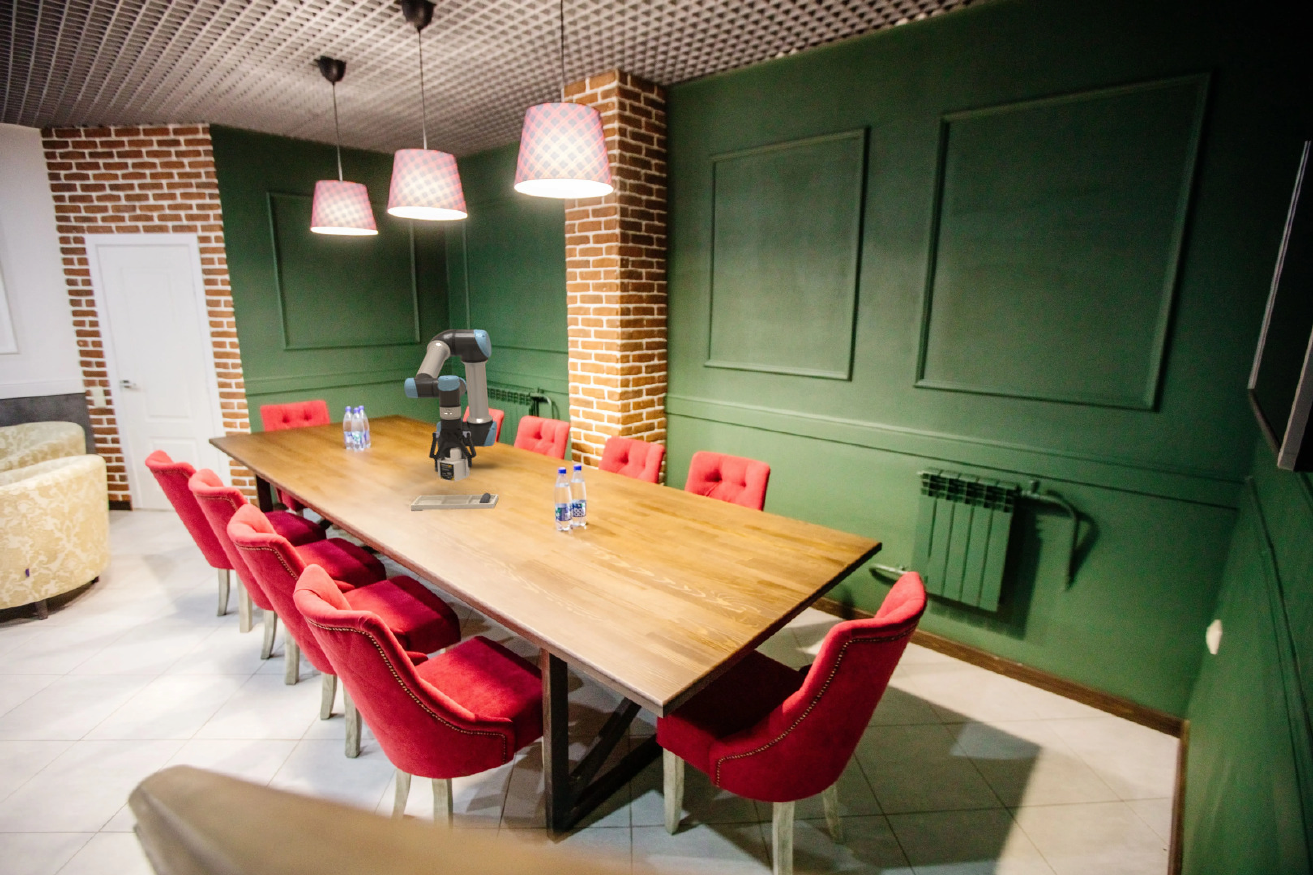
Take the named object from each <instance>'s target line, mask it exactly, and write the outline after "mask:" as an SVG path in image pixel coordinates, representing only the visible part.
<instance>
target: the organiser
mask: <svg viewBox="0 0 1313 875" xmlns="http://www.w3.org/2000/svg"><path fill="white" fill-rule="evenodd" d="M483 495H484V494H447V495H446V494H445V495H443V494H441V495H438V494H437V495H434V494H433V495H432V494H431V495H430V494H429V495H417V498H416V499H414V500H413V501H412V503H411V504H410V511H412V512H417V511H418V512H419V511H420V512H422V511H423V510H461V509H463V510H467V509H469V510H470V509H472V510H473V509H476V510H477V509H494V508H495V506H496V505H497V502H498V500H499V494H490V495H491V498H490V500H489V502H488V503H479V502H480V500H481V498H482V496H483Z"/></svg>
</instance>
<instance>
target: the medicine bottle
mask: <svg viewBox="0 0 1313 875" xmlns="http://www.w3.org/2000/svg"><path fill="white" fill-rule="evenodd" d="M444 455H445V459H446V460H442V461H440V475H441V477H440V480H443V481H449V482H454V483H455V482H458V481H461V480H464V479H467V478H469V476H466V459H461V448H459V447H448V448H446V449H445V450H444Z"/></svg>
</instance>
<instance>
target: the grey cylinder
mask: <svg viewBox="0 0 1313 875" xmlns="http://www.w3.org/2000/svg"><path fill="white" fill-rule="evenodd" d="M482 495H483V496H482V498H481V500H480V502H479V503H488V502H489V500H490V498H491V495H492V494H491V493H489V492H485V493H483V494H482Z"/></svg>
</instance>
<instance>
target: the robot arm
mask: <svg viewBox="0 0 1313 875" xmlns="http://www.w3.org/2000/svg"><path fill="white" fill-rule="evenodd" d="M489 335H490V334H488V332H487V331H486V330H484V329H475V328H471V329H468V328H467V329H465V328H464V329H454V328H453V329H446V330H443V331H442V332H440V333H438V334H437V335H435V336H433V337H432V339H430V341H429V343H428V344H427V347H426V354H425V356H424V358H423V360H422V362H421V365H420V367H419V369H418V371H417V373H416V375H415V376H414V377H408V378H405V381H404V385H403V386H404V387H403V388H404V394H405V396H406V397H407V398H415V399H426V398H427V399H438V401H439V403H438V404H439V416H440V421H438V422H437V423H436V431H434V432H432V433H431V434H432V435H431V436H432V442H431V446H430V450H429V455H428V457H429V459H433V460H434V470H435V472H437V476H438V477H440V478H441V475H440V461H442V460H446V459H445V455H444V450H445V449H446V448H448V447H459V448H461V459H466V476H468V477H469V476H470V475H471V473H470V472H471V471H470V470H471V469H470V468H472V467H473V459H474V458H475V457H477V451H476V449H475V447H476V448H477V447H481V448H482V447H483V448H486V447H492V446H494V445H495V443H496V439H497V434H498V432H497V431H498V422H497V421H495V420H494V418H493V416H492V415H491V414H490V413H489V412H490V411H489V410H490V409H489V408H490V407H489V397H488V387H487V386H488V385H487V383H488V382H487V373H486V371H487V370H486V363H487V362H488V361H489V358H490V357H491V356H492V343H491V339H490V336H489ZM450 357H460V362H461V363H462V364H464V370H465V379H466V380H465V379H464V378H462V377H459V376H458V375H452V374H451V375H441V376H439V374H440V373H441V370H442V368H443V365H444V363H445V361H446V360H448V359H449V358H450ZM466 392H467V403H468V412H469V415H467V417H466V421H464V419H463V418H462V417H461V416H462V406H461V404H462V403H461V397H463V396H464V395H465V393H466ZM436 447H437V451H436ZM468 448H469V449H468ZM435 453H436V454H435Z"/></svg>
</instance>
